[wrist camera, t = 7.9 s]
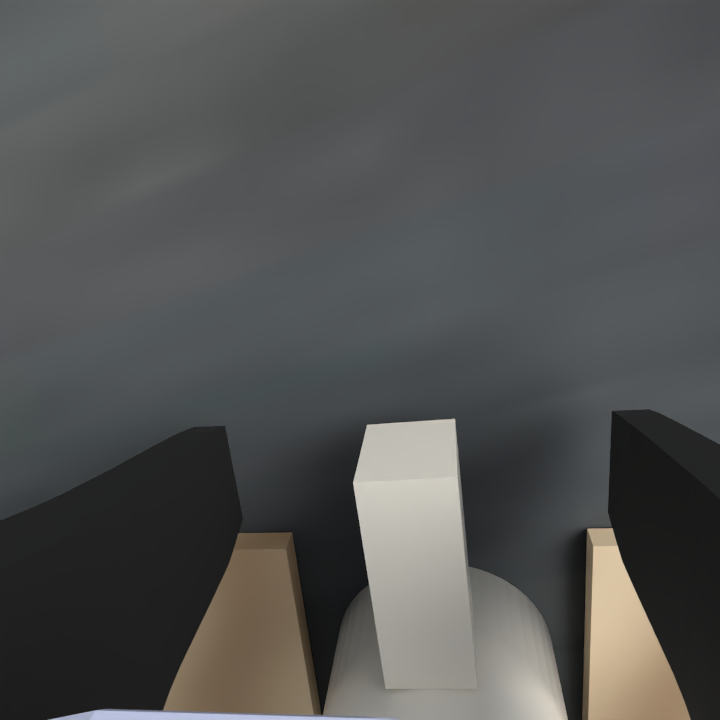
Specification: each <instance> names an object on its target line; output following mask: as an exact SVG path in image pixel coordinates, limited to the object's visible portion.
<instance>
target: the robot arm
mask: <svg viewBox="0 0 720 720" xmlns="http://www.w3.org/2000/svg"><path fill="white" fill-rule="evenodd" d="M608 514H609V517H610V521H611V524H612V528H613V532H614V535H615V539H616V542H617V546H618V549H619V552H620V555H621V559H622V562H623V564H624V566H625V569H626V571H627V573H628V575H629V578H630V580H631V582H632V584H633V587H634V589H635V591H636V593H637V595H638V598H639V600H640V602H641V604H642V607H643V609H644V611H645V613H646V615H647V617H648V620H649V622H650V624H651V626H652V628H653V631H654V633H655V635H656V637H657V639H658V641H659V644H660V646H661V648H662V650H663V652H664V655H665V657H666V659H667V661H668V663H669V666H670V668H671V670H672V672H673V674H674V677H675V679H676V682H677V684H678V687H679V689H680V692H681V694H682V697H683V699H684V702H685V704H686V707H687V710H688V713H689V716H690V719H691V720H720V444H718V443H716V442H714V441H712V440H710V439H708V438H706V437H704V436H702V435H701V434H699V433H697V432H695V431H693V430H691V429H689V428H687V427H686V426H684V425H682V424H680V423H678V422H676V421H674V420H672V419H670V418H668V417H666V416H664V415H662V414H660V413H657V412H655V411H652V410H625V411H612V425H611V451H610V476H609V502H608ZM242 519H243V518H242V512H241V507H240V502H239V497H238V492H237V486H236V481H235V476H234V471H233V466H232V460H231V455H230V450H229V445H228V439H227V434H226V429H225V426H213V427H194V428H191V429H188V430H185V431H183V432H181V433H179V434H176V435H174V436H172V437H170V438H168V439H166V440H164V441H163V442H161V443H159V444H157V445H155V446H153V447H151V448H150V449H148V450H146V451H144V452H142V453H140V454H139V455H137V456H135V457H133V458H131V459H129V460H128V461H126V462H124V463H122V464H120V465H118V466H117V467H115V468H113V469H111V470H109V471H107V472H105V473H103V474H101V475H99V476H97V477H95V478H93V479H91V480H89V481H87V482H85V483H83V484H81V485H80V486H78V487H76V488H74V489H72V490H70V491H68V492H66V493H64V494H62V495H60V496H57V497H55V498H53V499H51V500H49V501H47V502H44V503H42V504H40V505H37V506H35V507H33V508H30V509H28V510H26V511H23V512H21V513H18V514H16V515H13V516H11V517H9V518H6V519H4V520H1V521H0V720H403V719H398V718H394V717H367V716H333V715H299V714H265V713H231V712H197V711H163V709H164V706H165V703H166V701H167V698H168V695H169V692H170V689H171V687H172V685H173V682H174V680H175V678H176V675H177V673H178V671H179V668H180V666H181V664H182V662H183V660H184V658H185V655H186V653H187V651H188V649H189V647H190V645H191V643H192V641H193V639H194V637H195V635H196V633H197V630H198V628H199V626H200V624H201V622H202V620H203V618H204V616H205V614H206V612H207V610H208V608H209V606H210V603H211V601H212V599H213V597H214V595H215V593H216V591H217V589H218V586H219V584H220V582H221V580H222V578H223V576H224V574H225V571H226V569H227V567H228V565H229V562H230V559H231V556H232V553H233V550H234V547H235V544H236V540H237V537H238V533H239V529H240V526H241V522H242Z"/></svg>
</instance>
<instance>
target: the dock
mask: <svg viewBox="0 0 720 720" xmlns="http://www.w3.org/2000/svg"><path fill="white" fill-rule="evenodd" d="M163 711H197V712H231V713H265V714H299V715H322V714H321V708H320V702H319V696H318V690H317V684H316V677H315V671H314V665H313V659H312V653H311V647H310V640H309V634H308V628H307V622H306V616H305V609H304V603H303V597H302V591H301V585H300V579H299V572H298V566H297V560H296V554H295V548H294V542H293V535H292V532H285V533H238V537H237V540H236V544H235V547H234V550H233V553H232V556H231V559H230V562H229V565H228V567H227V569H226V571H225V574H224V576H223V578H222V580H221V582H220V584H219V586H218V589H217V591H216V593H215V595H214V597H213V599H212V601H211V603H210V606H209V608H208V610H207V612H206V614H205V616H204V618H203V620H202V622H201V624H200V626H199V628H198V630H197V633H196V635H195V637H194V639H193V641H192V643H191V645H190V647H189V649H188V651H187V653H186V655H185V658H184V660H183V662H182V664H181V666H180V668H179V671H178V673H177V675H176V678H175V680H174V682H173V685H172V687H171V689H170V692H169V695H168V698H167V701H166V703H165V706H164V709H163ZM582 720H691V719H690V716H689V713H688V710H687V707H686V704H685V702H684V699H683V697H682V694H681V692H680V689H679V687H678V684H677V682H676V679H675V677H674V674H673V672H672V670H671V668H670V666H669V663H668V661H667V659H666V657H665V655H664V652H663V650H662V648H661V646H660V644H659V641H658V639H657V637H656V635H655V633H654V631H653V628H652V626H651V624H650V622H649V620H648V617H647V615H646V613H645V611H644V609H643V607H642V604H641V602H640V600H639V598H638V595H637V593H636V591H635V589H634V587H633V584H632V582H631V580H630V578H629V575H628V573H627V571H626V569H625V566H624V564H623V562H622V559H621V555H620V552H619V549H618V546H617V542H616V539H615V535H614V532H613V528H593V529H587V555H586V594H585V633H584V672H583V711H582Z"/></svg>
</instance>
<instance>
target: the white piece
mask: <svg viewBox="0 0 720 720" xmlns="http://www.w3.org/2000/svg"><path fill="white" fill-rule="evenodd" d="M353 486H354V492H355V498H356V505H357V511H358V517H359V524H360V530H361V536H362V543H363V549H364V555H365V562H366V568H367V574H368V581H369V584H368V585H367V586H366V587H365V588H364V589H363V590H361V591H360V592H359V593H358V595H357V596H356V597H355V598H354V599H353V600H352V602H351V603H350V605H349V607H348V608H347V610H346V612H345V614H344V617H343V619H342V623H341V627H340V632H339V637H338V642H337V647H336V652H335V657H334V662H333V667H332V672H331V677H330V682H329V687H328V692H327V697H326V702H325V707H324V712H323V715H333V716H367V717H394V718H398V719H403V720H568V718H567V713H566V708H565V703H564V699H563V694H562V689H561V684H560V679H559V675H558V670H557V665H556V660H555V655H554V651H553V646H552V641H551V637H550V633H549V630H548V627H547V625H546V623H545V621H544V618H543V616H542V615H541V613H540V612H539V610H538V609H537V608H536V606H535V605H534V604H533V603H532V602H531V601H530V600H529V598H528V597H527V596H526V595H524V594H523V593H522V592H521V591H520V590H518V589H517V588H516V587H515V586H513V585H511V584H510V583H508V582H507V581H505V580H503V579H501V578H499V577H497V576H495V575H493V574H491V573H488V572H486V571H483V570H480V569H477V568H473V567H469V565H468V554H467V543H466V532H465V521H464V511H463V500H462V489H461V478H460V467H459V456H458V445H457V435H456V424H455V419H445V420H430V421H416V422H401V423H386V424H371V425H367V428H366V432H365V436H364V440H363V444H362V448H361V452H360V456H359V460H358V464H357V468H356V473H355V477H354V481H353Z"/></svg>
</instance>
